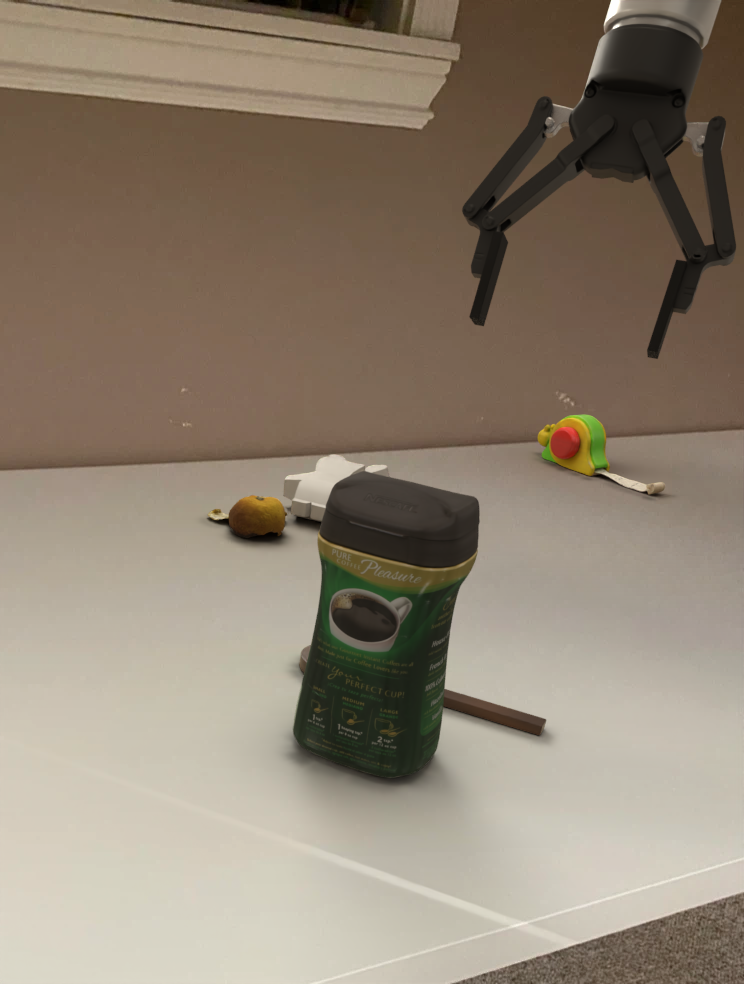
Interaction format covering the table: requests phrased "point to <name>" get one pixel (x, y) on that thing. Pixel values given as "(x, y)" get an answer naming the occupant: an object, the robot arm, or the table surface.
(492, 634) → the table surface
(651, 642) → the table surface
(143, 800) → the table surface
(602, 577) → the table surface
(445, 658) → the coffee jar
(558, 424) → the toy measuring tape
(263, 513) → the fruit
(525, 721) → the spoon
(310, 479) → the white toy figure
